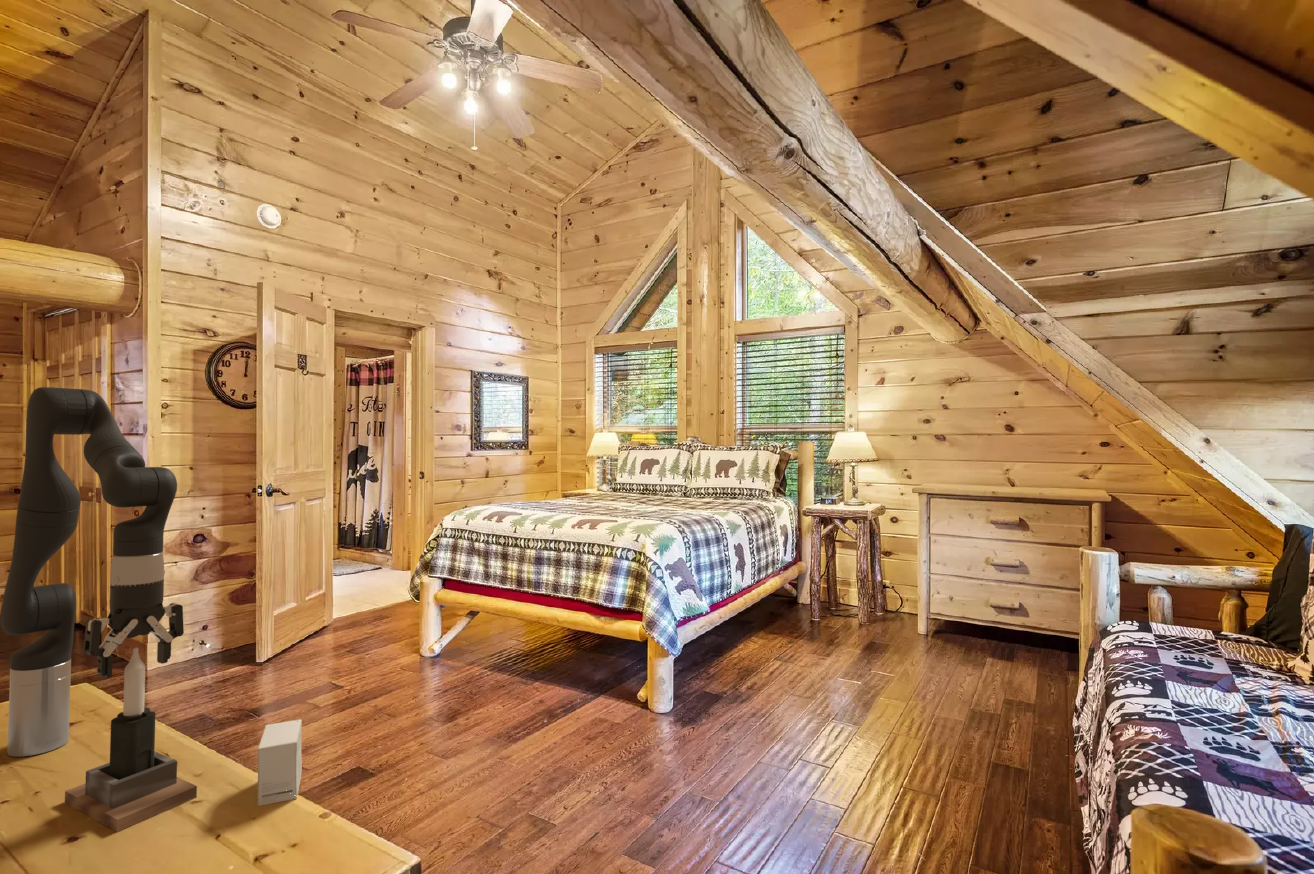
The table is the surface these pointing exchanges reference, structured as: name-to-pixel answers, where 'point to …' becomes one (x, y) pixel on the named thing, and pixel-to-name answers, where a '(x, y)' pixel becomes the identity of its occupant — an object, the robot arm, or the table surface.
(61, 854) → the table surface
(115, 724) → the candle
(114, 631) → the robot arm
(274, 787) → the skincare box
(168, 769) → the socket board
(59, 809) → the table surface
